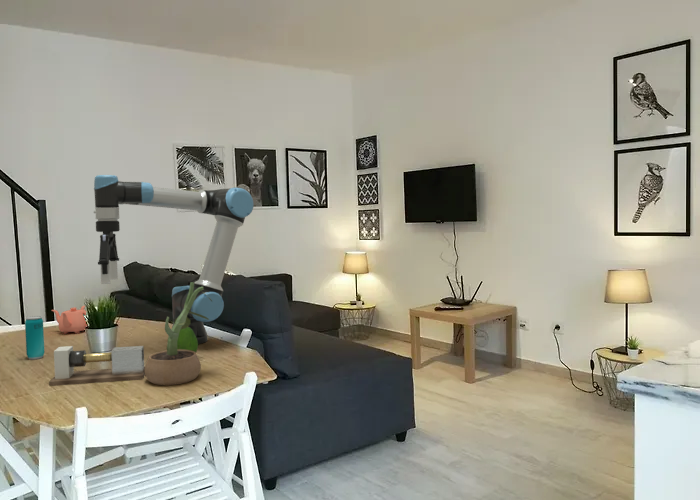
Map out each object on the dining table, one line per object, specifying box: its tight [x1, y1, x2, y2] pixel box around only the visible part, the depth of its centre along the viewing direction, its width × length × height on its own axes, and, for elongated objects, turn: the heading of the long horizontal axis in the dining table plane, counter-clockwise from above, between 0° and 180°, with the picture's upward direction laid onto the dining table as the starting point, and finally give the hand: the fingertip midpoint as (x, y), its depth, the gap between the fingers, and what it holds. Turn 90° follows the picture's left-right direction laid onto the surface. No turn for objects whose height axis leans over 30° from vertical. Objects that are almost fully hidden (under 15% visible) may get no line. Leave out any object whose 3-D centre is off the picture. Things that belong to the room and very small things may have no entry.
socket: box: [53, 345, 75, 379], centre depth 178 cm, size 4×6×10 cm, turn 13°
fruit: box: [177, 327, 199, 353], centre depth 203 cm, size 8×8×12 cm
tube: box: [69, 349, 112, 368], centre depth 180 cm, size 19×5×5 cm, turn 103°
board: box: [48, 366, 146, 386], centre depth 181 cm, size 27×11×1 cm, turn 103°
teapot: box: [51, 305, 87, 335], centre depth 253 cm, size 14×14×11 cm
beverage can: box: [24, 315, 45, 360], centre depth 206 cm, size 6×6×15 cm
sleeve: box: [110, 345, 145, 375], centre depth 182 cm, size 9×5×8 cm, turn 103°
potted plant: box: [144, 281, 212, 386], centre depth 179 cm, size 22×18×30 cm
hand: (109, 281), depth 197 cm, fingers open, 13 cm apart
